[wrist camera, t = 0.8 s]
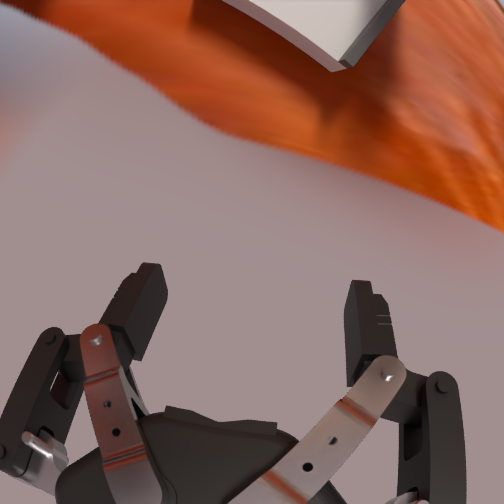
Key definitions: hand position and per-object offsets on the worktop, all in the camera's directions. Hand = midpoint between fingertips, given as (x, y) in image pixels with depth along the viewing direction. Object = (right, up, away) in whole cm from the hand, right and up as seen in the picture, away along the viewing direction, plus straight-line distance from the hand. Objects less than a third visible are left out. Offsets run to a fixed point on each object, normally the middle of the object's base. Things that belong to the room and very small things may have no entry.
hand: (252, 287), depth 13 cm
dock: (+4, +27, +9) cm, 28 cm away
